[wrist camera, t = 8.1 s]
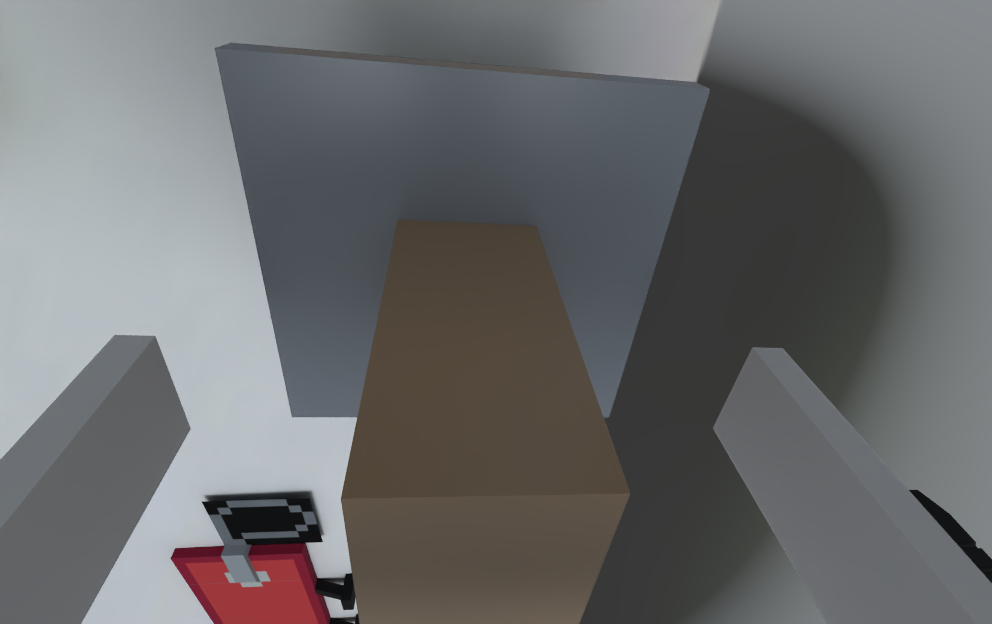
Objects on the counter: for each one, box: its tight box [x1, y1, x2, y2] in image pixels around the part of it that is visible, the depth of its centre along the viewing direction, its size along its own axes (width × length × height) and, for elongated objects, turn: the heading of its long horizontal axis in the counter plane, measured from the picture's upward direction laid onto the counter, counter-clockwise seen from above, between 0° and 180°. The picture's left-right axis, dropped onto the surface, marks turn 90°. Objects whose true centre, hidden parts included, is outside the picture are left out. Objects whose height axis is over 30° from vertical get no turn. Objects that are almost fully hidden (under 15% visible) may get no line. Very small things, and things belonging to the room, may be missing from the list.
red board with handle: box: [171, 498, 360, 624], centre depth 48 cm, size 30×3×15 cm
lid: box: [215, 43, 710, 624], centre depth 12 cm, size 12×12×10 cm
